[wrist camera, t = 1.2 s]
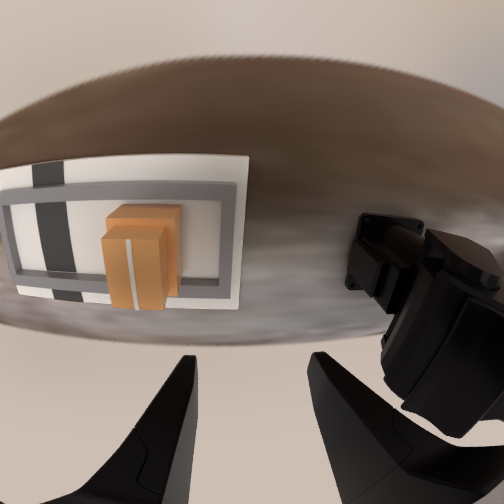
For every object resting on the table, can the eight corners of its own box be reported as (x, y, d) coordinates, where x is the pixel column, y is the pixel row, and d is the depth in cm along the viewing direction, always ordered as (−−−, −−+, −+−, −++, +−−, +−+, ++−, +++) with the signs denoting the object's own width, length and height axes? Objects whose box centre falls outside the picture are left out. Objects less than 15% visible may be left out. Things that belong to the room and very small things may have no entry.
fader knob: (181, 204, 17) (168, 232, 12) (182, 272, 19) (173, 318, 14) (121, 204, 16) (90, 231, 12) (128, 270, 18) (105, 313, 14)
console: (247, 155, 17) (251, 158, 15) (237, 300, 22) (239, 317, 20) (4, 168, 15) (-13, 174, 13) (25, 287, 19) (14, 299, 17)
